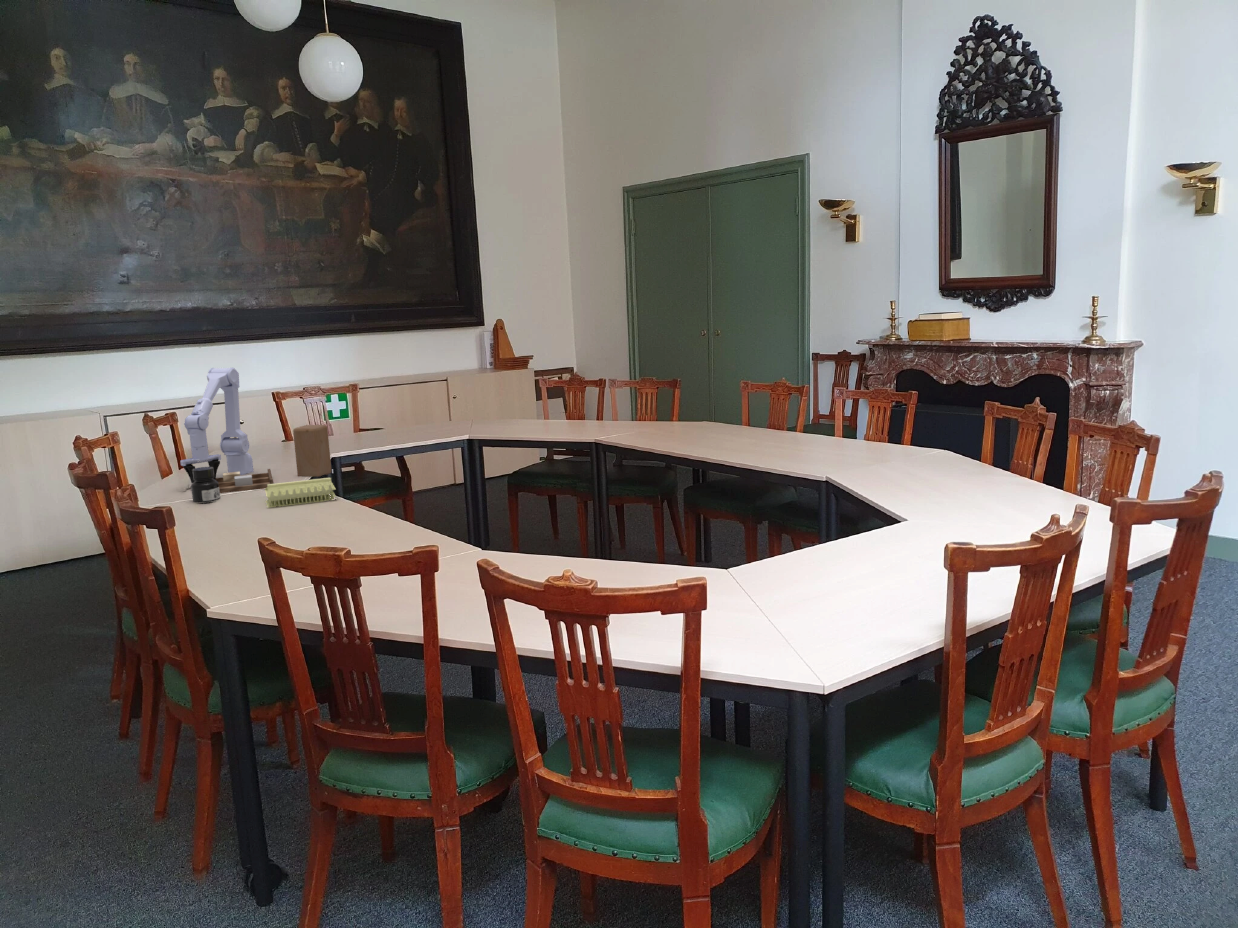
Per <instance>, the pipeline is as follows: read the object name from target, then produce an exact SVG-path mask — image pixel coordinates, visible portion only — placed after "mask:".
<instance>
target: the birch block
mask: <svg viewBox="0 0 1238 928" xmlns="http://www.w3.org/2000/svg"><path fill="white" fill-rule="evenodd" d="M235 476H241V475H240V472H230V473H228V472H224V473H222V477H223V480H224V482H233V481H235V478H234V477H235Z"/></svg>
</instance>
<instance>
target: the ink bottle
mask: <svg viewBox="0 0 1238 928" xmlns="http://www.w3.org/2000/svg"><path fill="white" fill-rule="evenodd" d="M192 472H193V478H194V480H195V481H194V482H193V483H191V485H190V489H191V497H192V503H196V504H197V505H205V504H212V503H216V502H217V501H218V500H220V499H221V493H220V491H219V483H218V482H217V481H216V480H215V479H213V478H214V468H213V467H209V466H200V467H195V469H193V470H192Z"/></svg>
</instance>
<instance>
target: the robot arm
mask: <svg viewBox="0 0 1238 928" xmlns="http://www.w3.org/2000/svg"><path fill="white" fill-rule="evenodd" d="M206 379H207V383H206V388H205V389H204V392H203V395H202V397H201V398H198V399H197V400H196V403H195V405H194V407H193V409H192V411H191V413H190V414H188V416H186V418H185V419H184V423H183V425H184V427H185V429H186V430H187V434H188V435H189V443H190V449H191V458H185V459H181V460H180V466H182V468H183V469H184V470H185V472H186V473H187V475H188V477H189V479H190V482H191V484H192V483H193V482H194V481H195V480H194V478H193V472H192V470H193V469H195V468H196V466H194V464H202V463H207V464H208V467H213V468H214V478H213V479H215V480H216V478H217V473H218V469H219V466H220V465H221V460H222V455H221V454H209V447H208V437H207V428H208V427H209V423H210V422H209V419H210V414H211V411H212V409H213V408H214V404H213V402H212V401H213V400H214V399H215V396H216V394H217V393H218V392H219V390H220V389H221V390H222V392H223V393H224V394H223V396H224V397H223V398H224V413H225V415H224V416H225V431H224V432H223V433H222V434H221V435H220V443H219V448H220V451H221V452H222V453H223V455H224V456H225V458H226V465H227V473H230V472H240V476H241V475H248V474H250V473H254V464H253V463H254V462H253V457H252V455H251V454H250V453H249V450H250V442H249V440H248V434H246V433H245V432H244V431H243V430H241V418H240V417H241V415H240V398H239V397H240V396H239V388H240V373H239V371H238V370H237V369H236V368H235V367H210V369H208V371H207V375H206Z"/></svg>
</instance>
